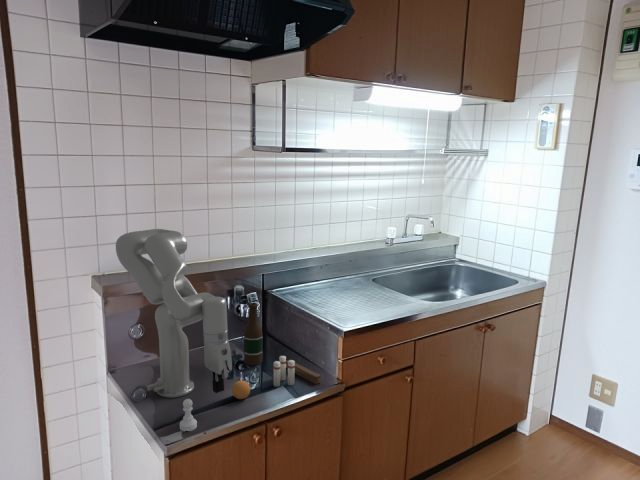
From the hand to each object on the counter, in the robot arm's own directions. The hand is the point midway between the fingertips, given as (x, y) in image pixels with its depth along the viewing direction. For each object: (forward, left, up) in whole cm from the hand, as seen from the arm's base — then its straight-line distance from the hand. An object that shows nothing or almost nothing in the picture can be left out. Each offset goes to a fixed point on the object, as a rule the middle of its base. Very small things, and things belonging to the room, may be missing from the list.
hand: (218, 391), depth 157 cm
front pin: (+24, +1, -6) cm, 25 cm away
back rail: (+36, +1, -6) cm, 37 cm away
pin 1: (+29, +4, -6) cm, 30 cm away
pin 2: (+29, -1, -6) cm, 29 cm away
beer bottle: (+29, +23, -6) cm, 38 cm away
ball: (+9, +1, -3) cm, 10 cm away
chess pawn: (-13, -4, -6) cm, 15 cm away
